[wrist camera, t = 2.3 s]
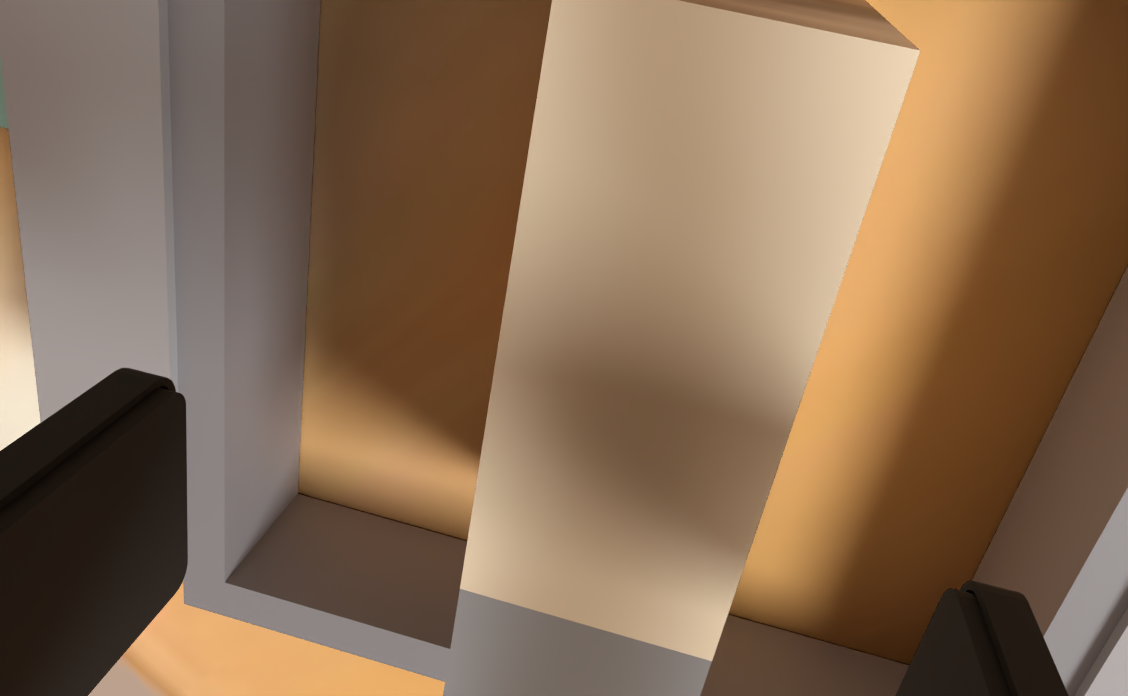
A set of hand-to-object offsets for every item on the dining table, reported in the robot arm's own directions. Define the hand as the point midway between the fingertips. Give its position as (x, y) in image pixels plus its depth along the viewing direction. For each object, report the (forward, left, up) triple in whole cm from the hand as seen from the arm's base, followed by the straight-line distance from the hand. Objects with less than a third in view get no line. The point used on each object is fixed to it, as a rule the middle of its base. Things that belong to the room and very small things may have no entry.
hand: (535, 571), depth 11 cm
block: (-1, 0, -9) cm, 9 cm away
